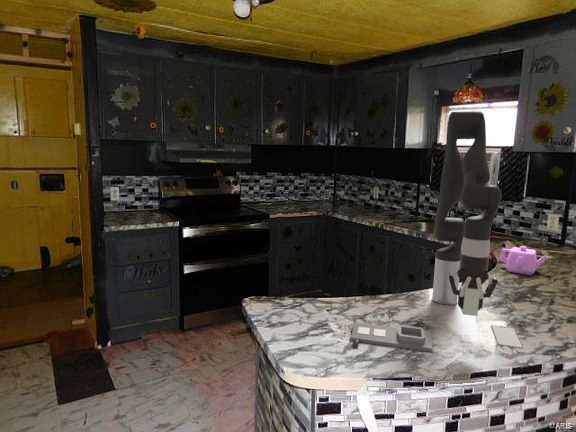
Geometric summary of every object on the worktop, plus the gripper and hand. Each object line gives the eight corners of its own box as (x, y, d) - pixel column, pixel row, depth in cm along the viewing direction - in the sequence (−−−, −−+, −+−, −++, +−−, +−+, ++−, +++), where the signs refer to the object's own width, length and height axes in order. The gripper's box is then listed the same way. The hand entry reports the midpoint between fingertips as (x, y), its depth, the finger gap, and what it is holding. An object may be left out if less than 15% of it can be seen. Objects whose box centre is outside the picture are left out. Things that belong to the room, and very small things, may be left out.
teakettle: (523, 265, 221) (526, 242, 219) (548, 275, 205) (551, 250, 203) (494, 266, 218) (496, 243, 216) (517, 276, 202) (520, 251, 200)
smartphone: (497, 344, 129) (490, 324, 143) (497, 346, 129) (490, 326, 144) (524, 348, 127) (514, 328, 141) (524, 350, 127) (514, 329, 141)
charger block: (460, 309, 128) (463, 283, 127) (475, 310, 127) (477, 284, 126) (462, 314, 124) (465, 287, 123) (477, 316, 123) (480, 289, 122)
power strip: (354, 325, 141) (354, 317, 141) (429, 334, 135) (430, 326, 135) (349, 346, 126) (349, 337, 125) (433, 358, 120) (434, 348, 120)
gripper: (498, 251, 124) (492, 306, 127) (447, 247, 128) (442, 301, 131) (504, 258, 117) (498, 316, 120) (450, 254, 121) (445, 310, 124)
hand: (469, 308), depth 125 cm, fingers closed on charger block, 4 cm apart
